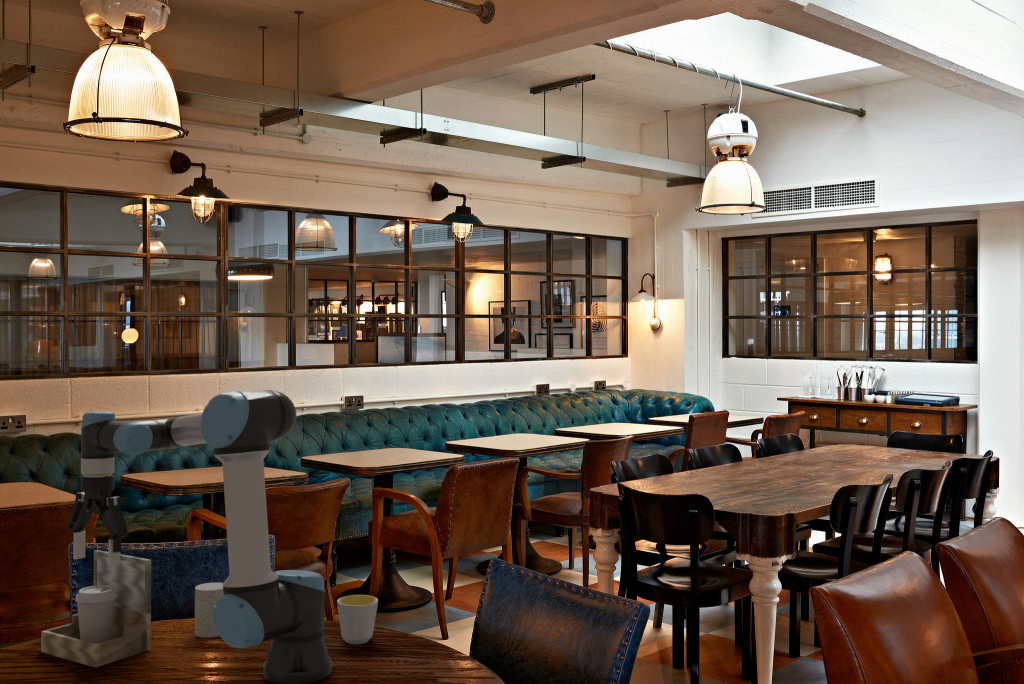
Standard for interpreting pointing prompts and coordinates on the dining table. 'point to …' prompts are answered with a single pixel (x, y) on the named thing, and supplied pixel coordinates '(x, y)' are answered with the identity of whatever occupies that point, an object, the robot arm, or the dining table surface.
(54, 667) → the dining table surface
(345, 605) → the mug
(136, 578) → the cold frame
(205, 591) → the white cylinder
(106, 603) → the coffee cup
